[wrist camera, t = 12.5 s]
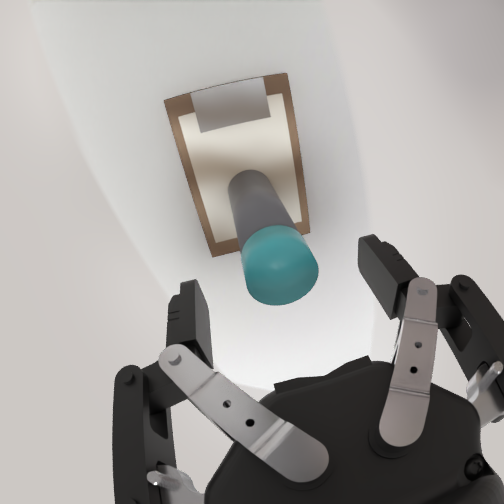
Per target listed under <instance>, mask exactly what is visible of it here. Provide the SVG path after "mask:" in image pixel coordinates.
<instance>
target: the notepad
mask: <svg viewBox="0 0 504 504" xmlns="http://www.w3.org/2000/svg"><path fill="white" fill-rule="evenodd" d="M164 103H165V107H166V110H167V114H168V117H169V121H170V124H171V128H172V131H173V135H174V138H175V141H176V145H177V148H178V152H179V155H180V158H181V161H182V165H183V168H184V171H185V174H186V178H187V181H188V184H189V187H190V190H191V194H192V197H193V200H194V203H195V206H196V209H197V212H198V215H199V218H200V222H201V225H202V228H203V231H204V234H205V237H206V240H207V243H208V246H209V249H210V251H211V254H212V257H216V256H220V255H224V254H228V253H232V252H236V251H240V247H239V243H238V238H237V233H236V228H235V224H234V219H233V214H232V209H231V205H230V200H229V195H228V186H229V183H230V181H231V180H232V178H233V177H234V176H235V175H236V174H238V173H239V172H242V171H244V170H257V171H260V172H262V173H263V174H264V175H265V176H266V177H267V178H268V179H269V181H270V183H271V185H272V186H273V188H274V190H275V191H276V193H277V195H278V196H279V198H280V200H281V202H282V203H283V205H284V207H285V208H286V210H287V212H288V214H289V215H290V217H291V219H292V221H293V222H294V224H295V226H296V228H297V229H298V231H299V233H300V234H301V235H303V234H307V233H310V226H309V217H308V208H307V199H306V191H305V183H304V175H303V168H302V160H301V153H300V147H299V140H298V133H297V127H296V121H295V115H294V109H293V103H292V97H291V92H290V86H289V81H288V75H287V73H282V74H275V75H268V76H262V77H257V78H251V79H246V80H241V81H236V82H231V83H227V84H222V85H218V86H214V87H210V88H206V89H202V90H198V91H194V92H190V93H187V94H183V95H180V96H177V97H173V98H170V99H167V100H164Z"/></svg>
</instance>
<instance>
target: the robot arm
mask: <svg viewBox="0 0 504 504" xmlns="http://www.w3.org/2000/svg"><path fill="white" fill-rule="evenodd" d="M358 267H359V271H360V273H361V275H362V276H363V278H364V279H365V281H366V282H367V284H368V285H369V287H370V288H371V290H372V292H373V293H374V295H375V296H376V298H377V299H378V301H379V303H380V304H381V305H382V307H383V309H384V311H385V312H386V314H387V315H388V317H389V318H390V320H391V319H394V318H396V317H398V318H399V320H400V322H399V326H398V331H397V336H396V341H395V345H394V350H393V354H392V358H391V361H390V363H388V362H384V361H371V360H370V358H369V356H368V355H367V356H364V357H362V358H359V359H356V360H353V361H350V362H347V363H345V364H344V365H342V366H340V367H339V368H337V369H335V370H334V371H332V372H330V373H329V374H327V375H325V376H317V377H300V378H295V379H291V380H287V381H283V382H279V383H275V384H274V388H275V390H274V391H273V392H271V393H269V394H267V395H266V396H265V397H263V398H262V399H261V400H260V401H259V402H257V401H256V400H254V399H253V398H252V397H250V396H249V395H248V394H247V393H245V392H244V391H243V390H241V389H240V388H239V387H238V386H236V385H235V384H234V383H232V382H231V381H230V380H229V379H227V378H226V377H225V376H224V375H222V374H221V373H220V372H214V371H213V370H212V369H214V368H213V357H212V345H211V333H210V320H209V310H208V306H207V303H206V300H205V298H204V295H203V293H202V291H201V288H200V286H199V284H198V281H197V280H196V279H194V280H190V281H186V282H182V283H181V285H180V294H178V295H174V296H173V297H172V299H171V301H170V303H169V305H168V322H167V337H166V348H165V349H164V350H163V351H162V352H161V354H160V356H159V359H158V361H156V362H155V363H153V364H152V365H149V366H147V367H145V368H143V369H140V368H139V367H138V366H135V365H128V366H125V367H124V368H122V369H121V370H120V371H119V372H118V373H117V375H116V377H115V384H114V402H113V433H112V435H113V436H112V450H113V479H114V480H113V481H114V496H115V504H504V485H503V483H502V480H501V478H500V477H499V476H498V475H497V473H495V471H494V470H493V469H492V468H491V467H490V466H489V464H488V463H487V462H486V460H485V459H484V457H483V454H482V450H481V443H480V432H481V431H480V429H481V428H482V427H484V426H485V425H487V424H488V423H490V422H493V423H496V422H499V421H500V420H502V419H503V418H504V321H503V319H502V318H501V316H500V315H499V314H498V312H497V311H496V309H495V308H494V307H493V305H492V304H491V303H490V301H489V300H488V298H487V297H486V296H485V294H484V293H483V292H482V291H481V289H480V288H479V287H478V285H477V284H476V283H475V282H474V281H473V280H472V279H471V278H470V277H468V276H466V275H456V276H455V277H453V278H452V281H451V284H446V285H435V283H434V282H433V281H431V280H430V279H427V278H423V277H419V276H418V275H417V273H416V272H415V271H414V270H413V269H412V267H411V266H410V265H409V264H408V262H407V261H406V260H405V259H404V258H403V257H402V255H401V254H399V252H398V251H397V249H396V248H395V247H394V246H392V245H391V244H389V243H387V242H381V241H380V240H379V239H378V238H377V237H376V235H374V234H371V235H368V236H364V237H360V238H359V242H358ZM465 319H466V320H467V321H466V320H465ZM467 322H468V323H469V324H468V323H467ZM469 325H470V326H469ZM438 329H440V331H441V332H442V334H443V336H444V337H445V339H446V341H447V343H448V344H449V346H450V348H451V350H452V352H453V353H454V355H455V357H456V359H457V361H458V363H459V365H460V366H461V368H462V370H463V372H464V374H465V376H466V378H467V380H468V384H467V387H466V392H467V399H465V398H463V397H461V396H459V395H456V394H454V393H452V392H450V391H448V390H446V389H443V388H442V387H439V386H438V385H435V384H433V383H431V379H432V372H433V366H434V359H435V351H436V341H437V332H438ZM186 399H188V400H189V401H190V402H191V403H192V404H193V405H194V406H195V407H196V408H198V410H199V411H200V412H201V413H202V414H204V415H205V416H206V417H207V418H208V419H209V420H210V421H211V422H212V423H213V424H214V425H216V427H217V428H218V429H219V430H220V431H222V432H223V433H224V434H225V435H226V436H227V437H228V438H230V439H231V440H232V441H233V442H234V443H233V444H232V446H231V448H230V449H229V451H228V453H227V454H226V456H225V458H224V459H223V461H222V463H221V464H220V466H219V467H218V469H217V471H216V472H215V474H214V475H213V477H212V479H211V480H210V482H209V483H208V485H207V487H206V490H205V493H204V494H201V493H199V492H198V491H197V490H196V489H195V487H194V485H193V482H192V480H191V478H190V477H189V476H188V475H187V474H186V473H184V472H182V471H180V470H177V467H176V459H175V450H174V441H173V432H172V421H171V410H170V407H171V406H173V405H175V404H177V403H179V402H181V401H184V400H186Z"/></svg>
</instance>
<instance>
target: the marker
mask: <svg viewBox="0 0 504 504" xmlns="http://www.w3.org/2000/svg"><path fill="white" fill-rule="evenodd" d="M228 195H229V200H230V205H231V209H232V214H233V219H234V224H235V228H236V233H237V238H238V243H239V247H240V252H241V261H242V266H243V271H244V275H245V280H246V285H247V289H248V291H249V293H250V295H251V296H252V297H253V298H254V299H255V300H257V301H259V302H261V303H263V304H267V305H285V304H289V303H292V302H294V301H296V300H298V299H300V298H302V297H303V296H305V295H306V294H307V293H308V292H309V291H310V290H311V289H312V287H313V286H314V284H315V283H316V280H317V277H318V264H317V262H316V260H315V258H314V256H313V254H312V253H311V251H310V249H309V247H308V245H307V244H306V242H305V240H304V238H303V237H302V235H301V234H300V233H299V231H298V229H297V228H296V226H295V224H294V222H293V221H292V219H291V217H290V215H289V214H288V212H287V210H286V208H285V207H284V205H283V203H282V202H281V200H280V198H279V196H278V195H277V193H276V191H275V190H274V188H273V186H272V185H271V183H270V181H269V179H268V178H267V177H266V176H265V175H264V174H263V173H262V172H260V171H257V170H244V171H242V172H239V173H238V174H236V175H235V176H234V177H233V178H232V180H231V181H230V183H229V186H228Z"/></svg>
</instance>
